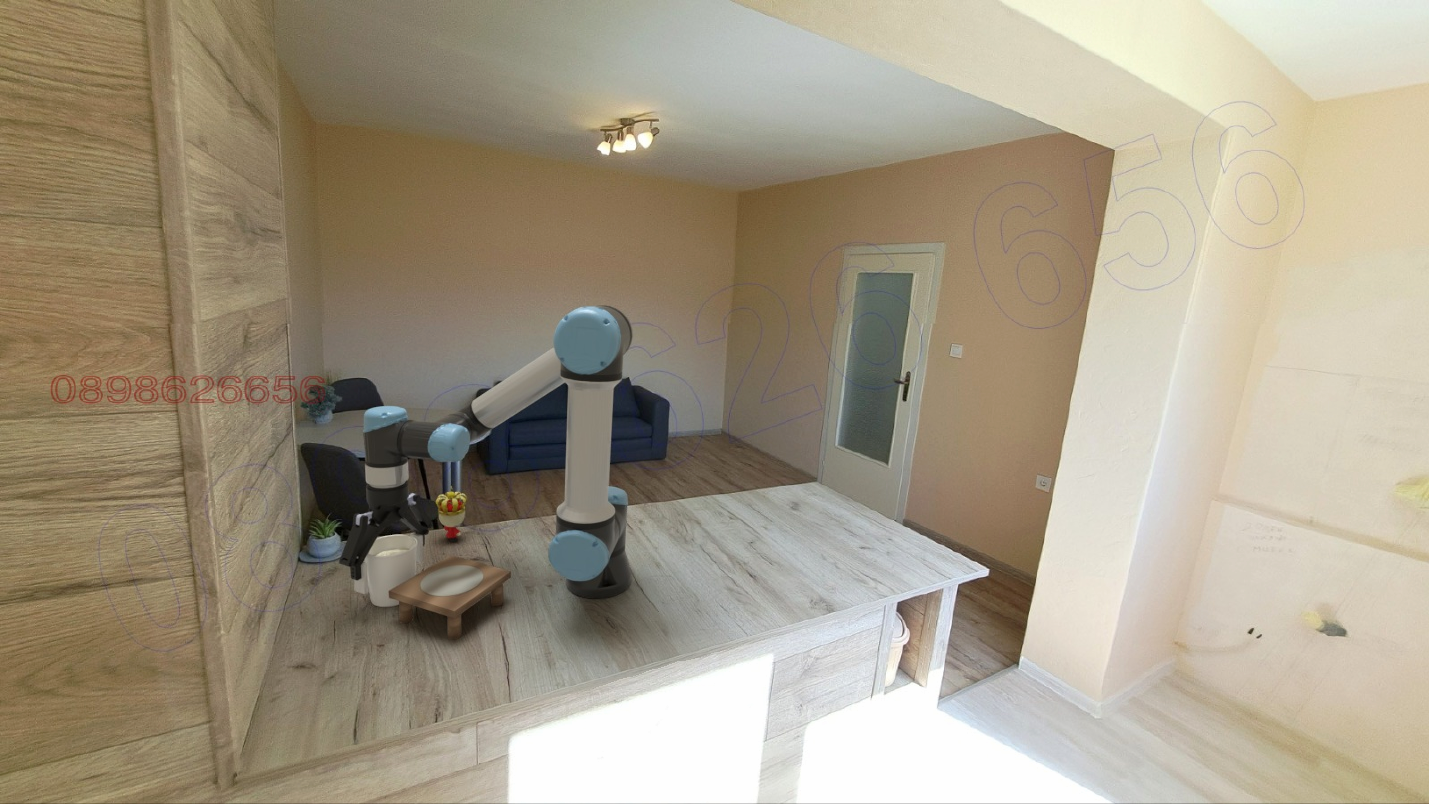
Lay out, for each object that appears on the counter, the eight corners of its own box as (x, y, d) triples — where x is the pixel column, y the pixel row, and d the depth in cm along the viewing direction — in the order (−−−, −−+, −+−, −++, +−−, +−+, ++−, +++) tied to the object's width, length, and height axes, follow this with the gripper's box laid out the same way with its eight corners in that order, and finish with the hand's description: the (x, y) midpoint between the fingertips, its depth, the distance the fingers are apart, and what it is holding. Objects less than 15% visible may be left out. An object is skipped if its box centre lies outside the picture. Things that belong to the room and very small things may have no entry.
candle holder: (395, 613, 110) (392, 559, 108) (354, 604, 112) (351, 551, 109) (429, 588, 119) (428, 538, 117) (391, 580, 121) (389, 531, 119)
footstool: (510, 600, 117) (511, 570, 116) (455, 644, 102) (454, 610, 101) (451, 583, 122) (451, 554, 121) (390, 622, 107) (388, 589, 106)
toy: (473, 539, 142) (472, 486, 139) (447, 549, 136) (445, 493, 133) (457, 531, 146) (456, 479, 143) (431, 540, 140) (429, 486, 137)
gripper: (422, 461, 123) (424, 547, 127) (312, 498, 100) (319, 601, 104) (449, 467, 121) (450, 554, 125) (343, 507, 98) (348, 611, 102)
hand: (390, 576), depth 115 cm, fingers open, 13 cm apart
